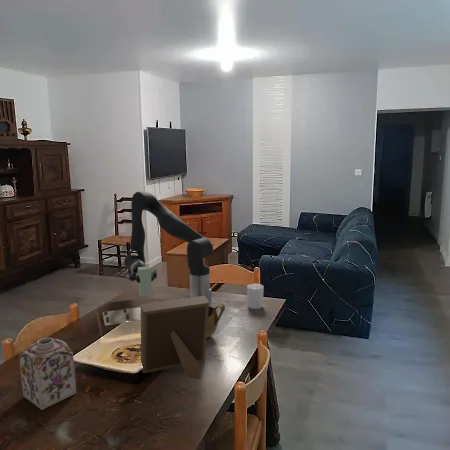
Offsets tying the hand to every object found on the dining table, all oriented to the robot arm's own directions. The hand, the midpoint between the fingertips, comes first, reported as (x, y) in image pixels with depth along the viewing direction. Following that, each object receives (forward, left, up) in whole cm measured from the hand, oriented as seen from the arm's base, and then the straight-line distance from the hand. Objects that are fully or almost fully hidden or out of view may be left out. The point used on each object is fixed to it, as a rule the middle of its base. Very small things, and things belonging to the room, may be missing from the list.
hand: (145, 279), depth 188 cm
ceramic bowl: (-15, +27, -18) cm, 36 cm away
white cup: (-50, +4, -18) cm, 54 cm away
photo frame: (-1, +50, -18) cm, 53 cm away
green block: (0, -3, -7) cm, 8 cm away
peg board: (+7, -3, -18) cm, 19 cm away
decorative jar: (+39, +50, -18) cm, 66 cm away
